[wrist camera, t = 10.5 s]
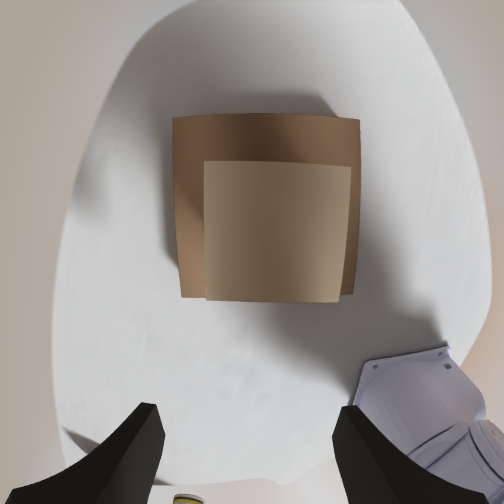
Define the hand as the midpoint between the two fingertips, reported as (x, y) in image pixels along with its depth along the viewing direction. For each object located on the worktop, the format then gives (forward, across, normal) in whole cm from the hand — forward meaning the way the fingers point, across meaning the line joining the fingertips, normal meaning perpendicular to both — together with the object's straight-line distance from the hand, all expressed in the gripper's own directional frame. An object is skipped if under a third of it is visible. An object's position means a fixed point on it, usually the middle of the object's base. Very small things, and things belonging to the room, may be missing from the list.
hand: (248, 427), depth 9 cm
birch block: (+7, -1, -7) cm, 10 cm away
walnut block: (+10, -1, -7) cm, 13 cm away
